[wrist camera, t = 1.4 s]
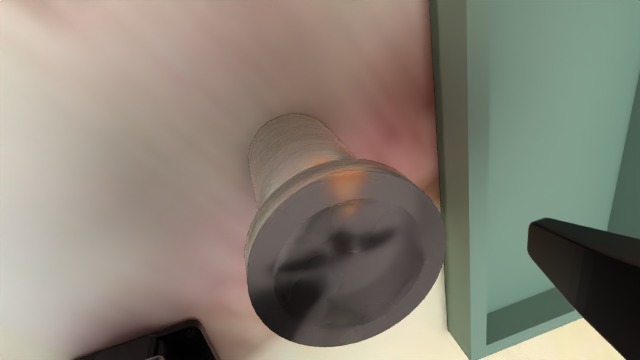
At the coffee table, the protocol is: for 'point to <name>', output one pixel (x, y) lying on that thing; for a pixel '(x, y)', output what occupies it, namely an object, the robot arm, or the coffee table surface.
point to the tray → (529, 149)
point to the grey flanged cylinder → (334, 237)
